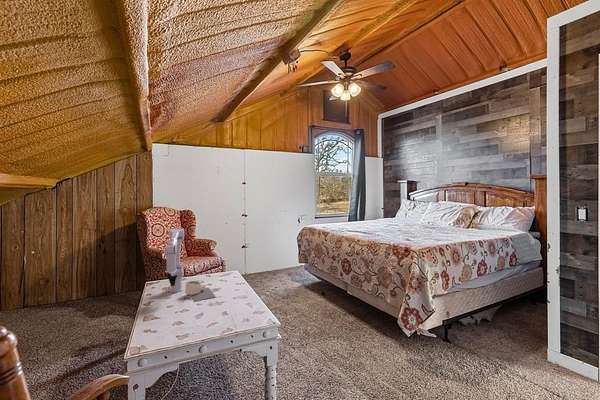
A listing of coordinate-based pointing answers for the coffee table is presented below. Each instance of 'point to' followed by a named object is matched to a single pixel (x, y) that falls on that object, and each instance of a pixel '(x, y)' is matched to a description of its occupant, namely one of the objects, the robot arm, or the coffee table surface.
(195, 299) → the grey flat slab
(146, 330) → the coffee table surface
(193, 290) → the medicine box
